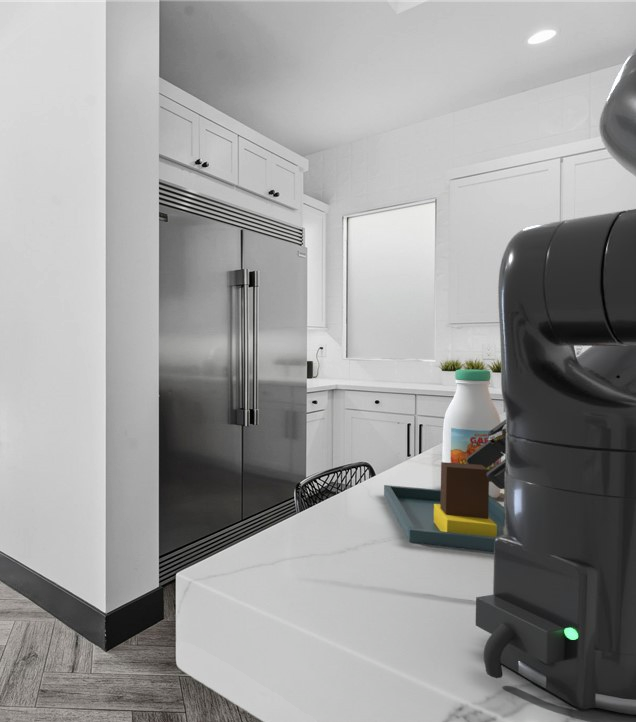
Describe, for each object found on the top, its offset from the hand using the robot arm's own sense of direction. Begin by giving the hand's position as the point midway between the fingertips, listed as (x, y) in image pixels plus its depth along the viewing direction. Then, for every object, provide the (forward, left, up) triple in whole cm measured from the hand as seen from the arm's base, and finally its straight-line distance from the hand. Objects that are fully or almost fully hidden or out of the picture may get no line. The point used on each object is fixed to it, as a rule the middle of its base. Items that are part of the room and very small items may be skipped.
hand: (481, 474), depth 66 cm
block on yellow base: (-2, +1, -8) cm, 8 cm away
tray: (+1, +5, -8) cm, 10 cm away
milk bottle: (+17, +16, -8) cm, 25 cm away
